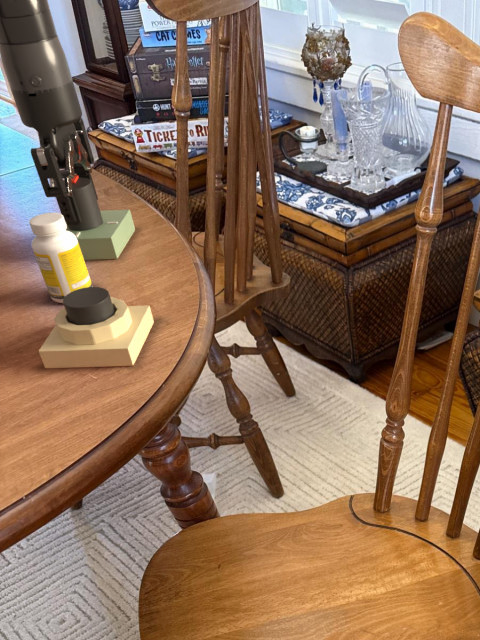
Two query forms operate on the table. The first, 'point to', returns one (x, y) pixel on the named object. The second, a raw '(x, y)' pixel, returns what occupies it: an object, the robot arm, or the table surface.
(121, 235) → the dial panel
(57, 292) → the supplement bottle
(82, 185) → the dial
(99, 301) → the button
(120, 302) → the button base
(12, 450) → the table surface
